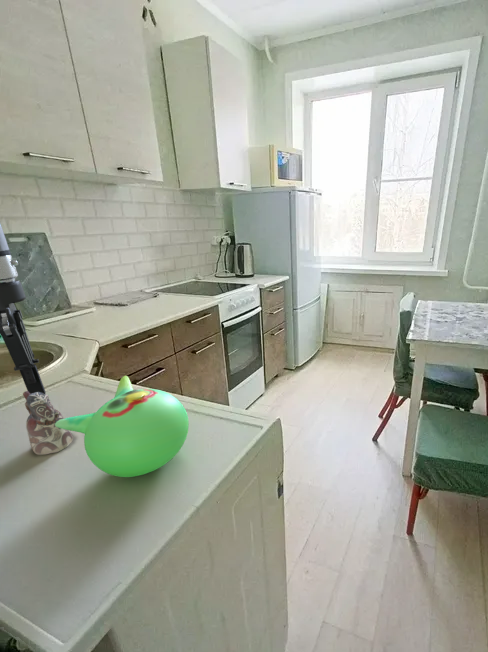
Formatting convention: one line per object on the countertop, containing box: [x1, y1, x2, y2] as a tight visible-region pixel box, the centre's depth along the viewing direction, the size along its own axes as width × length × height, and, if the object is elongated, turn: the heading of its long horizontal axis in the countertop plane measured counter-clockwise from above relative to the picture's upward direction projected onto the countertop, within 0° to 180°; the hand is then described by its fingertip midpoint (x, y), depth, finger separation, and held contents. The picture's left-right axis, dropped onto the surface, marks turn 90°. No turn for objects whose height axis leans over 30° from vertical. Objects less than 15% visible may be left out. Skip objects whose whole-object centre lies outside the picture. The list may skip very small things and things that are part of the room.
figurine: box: [22, 390, 74, 456], centre depth 70 cm, size 7×7×12 cm
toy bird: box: [55, 375, 190, 478], centre depth 63 cm, size 18×17×15 cm
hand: (38, 394), depth 75 cm, fingers closed
